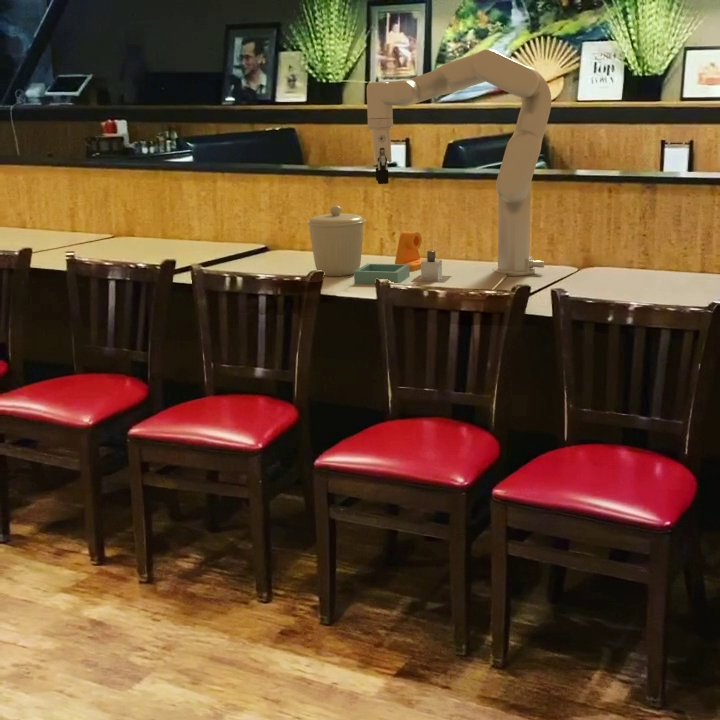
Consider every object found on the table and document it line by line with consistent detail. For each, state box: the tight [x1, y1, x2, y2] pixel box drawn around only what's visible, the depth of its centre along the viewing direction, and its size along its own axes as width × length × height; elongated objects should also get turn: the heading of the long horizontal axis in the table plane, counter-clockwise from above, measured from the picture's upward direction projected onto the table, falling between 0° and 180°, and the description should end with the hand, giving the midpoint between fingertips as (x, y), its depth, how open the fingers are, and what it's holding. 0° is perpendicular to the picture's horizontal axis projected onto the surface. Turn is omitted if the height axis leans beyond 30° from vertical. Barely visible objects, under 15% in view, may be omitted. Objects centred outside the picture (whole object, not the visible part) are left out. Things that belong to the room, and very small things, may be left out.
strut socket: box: [420, 250, 443, 281], centre depth 306 cm, size 5×5×8 cm
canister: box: [306, 205, 367, 277], centre depth 322 cm, size 18×18×21 cm
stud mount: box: [410, 274, 453, 284], centre depth 307 cm, size 10×10×5 cm
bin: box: [353, 263, 411, 285], centre depth 308 cm, size 13×13×4 cm
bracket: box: [394, 230, 426, 272], centre depth 325 cm, size 11×7×12 cm, turn 142°
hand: (382, 182), depth 318 cm, fingers open, 9 cm apart
